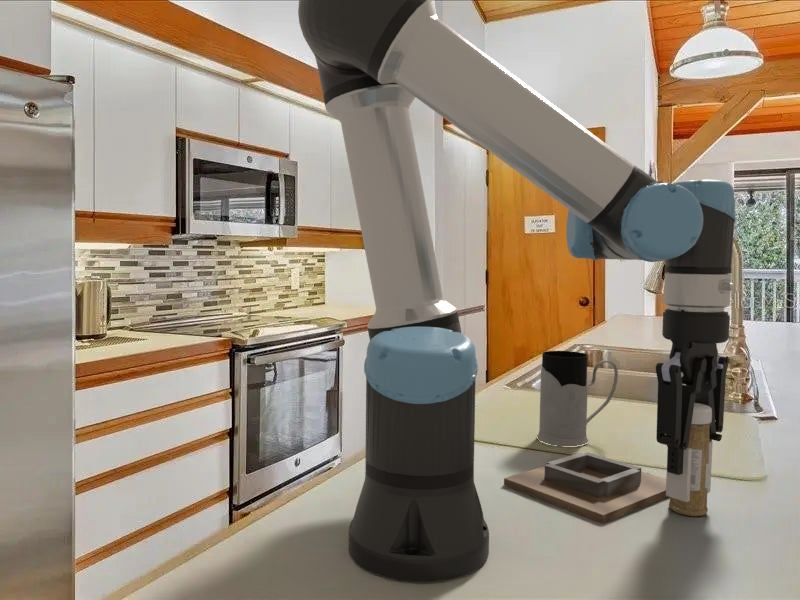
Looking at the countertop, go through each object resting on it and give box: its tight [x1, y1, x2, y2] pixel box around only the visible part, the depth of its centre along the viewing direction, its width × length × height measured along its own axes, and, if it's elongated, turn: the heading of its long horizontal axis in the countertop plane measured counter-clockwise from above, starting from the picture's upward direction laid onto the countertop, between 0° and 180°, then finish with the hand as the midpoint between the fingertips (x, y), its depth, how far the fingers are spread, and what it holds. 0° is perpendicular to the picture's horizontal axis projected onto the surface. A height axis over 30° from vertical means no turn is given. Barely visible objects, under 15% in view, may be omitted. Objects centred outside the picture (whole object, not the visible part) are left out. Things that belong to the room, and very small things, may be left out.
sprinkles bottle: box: [668, 403, 712, 517], centre depth 82 cm, size 5×5×13 cm
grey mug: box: [536, 350, 619, 446], centre depth 113 cm, size 9×14×15 cm, turn 100°
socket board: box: [503, 452, 668, 524], centre depth 90 cm, size 18×16×3 cm
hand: (688, 493), depth 82 cm, fingers closed on sprinkles bottle, 4 cm apart
